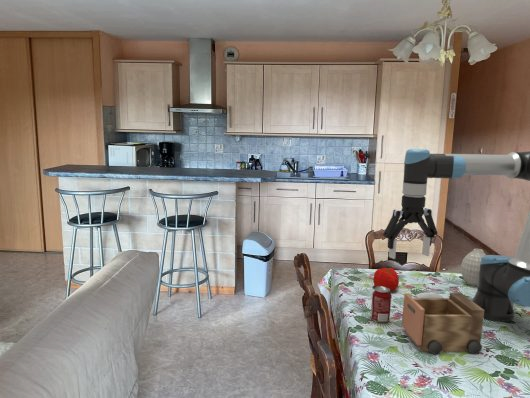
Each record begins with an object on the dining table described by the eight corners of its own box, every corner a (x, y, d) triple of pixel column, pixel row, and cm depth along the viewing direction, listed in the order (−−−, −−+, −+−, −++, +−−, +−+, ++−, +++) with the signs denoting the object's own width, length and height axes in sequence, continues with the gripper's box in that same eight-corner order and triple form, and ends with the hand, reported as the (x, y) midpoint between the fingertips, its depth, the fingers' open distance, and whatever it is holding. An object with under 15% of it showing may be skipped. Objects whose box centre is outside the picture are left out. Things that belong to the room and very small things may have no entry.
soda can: (390, 324, 150) (392, 293, 148) (370, 322, 152) (373, 291, 150) (388, 316, 157) (390, 286, 155) (370, 314, 158) (372, 284, 156)
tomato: (384, 295, 177) (386, 275, 176) (367, 285, 188) (368, 266, 187) (404, 292, 182) (406, 272, 180) (386, 282, 192) (387, 264, 191)
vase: (455, 278, 201) (459, 244, 198) (483, 280, 200) (487, 246, 197) (464, 288, 189) (468, 252, 186) (494, 290, 187) (499, 254, 184)
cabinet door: (404, 325, 145) (407, 293, 143) (421, 345, 133) (424, 309, 131) (400, 326, 145) (403, 293, 143) (416, 345, 132) (419, 309, 130)
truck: (454, 328, 149) (458, 291, 147) (482, 353, 132) (487, 312, 130) (402, 328, 148) (406, 291, 146) (424, 354, 131) (428, 312, 128)
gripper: (436, 192, 147) (431, 250, 150) (375, 194, 139) (371, 255, 143) (452, 196, 140) (446, 256, 143) (388, 198, 132) (383, 262, 135)
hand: (408, 256), depth 143 cm, fingers open, 13 cm apart
